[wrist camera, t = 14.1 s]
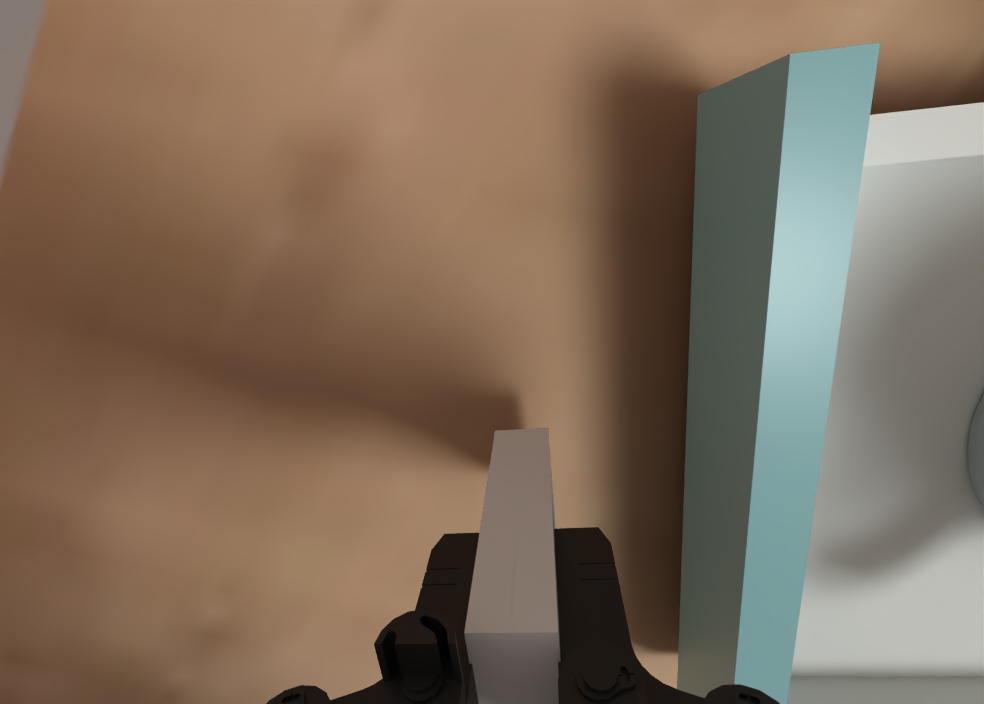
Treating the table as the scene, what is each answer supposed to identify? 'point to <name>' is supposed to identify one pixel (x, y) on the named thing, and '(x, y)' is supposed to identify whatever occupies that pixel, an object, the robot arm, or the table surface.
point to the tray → (833, 392)
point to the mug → (977, 451)
